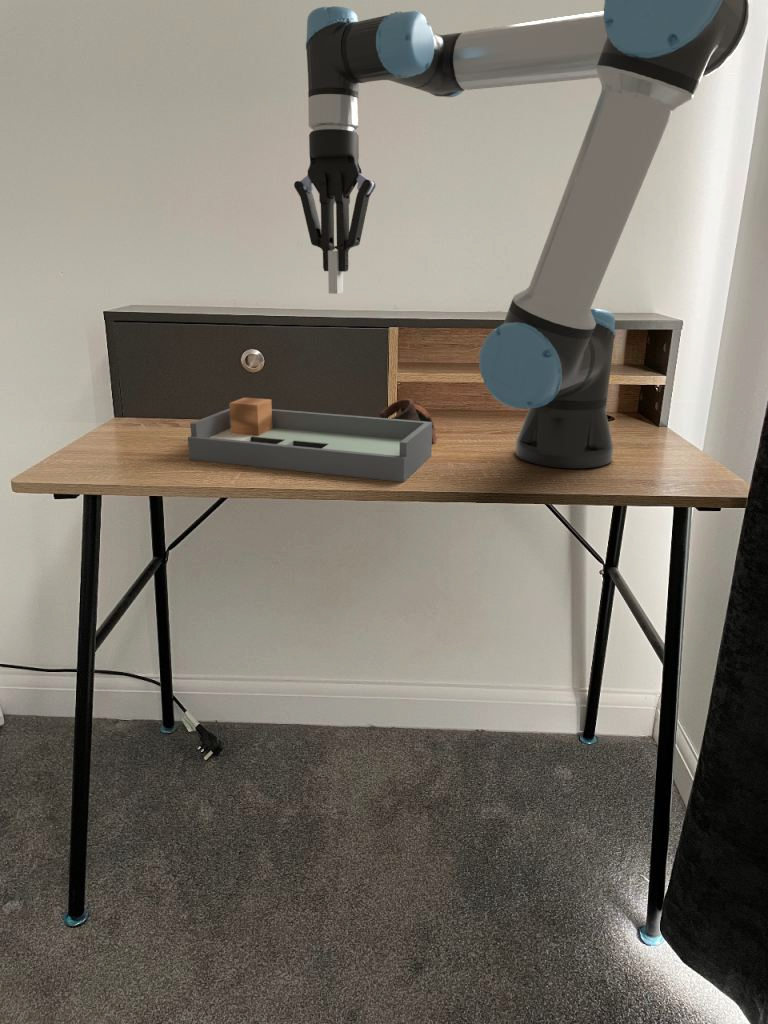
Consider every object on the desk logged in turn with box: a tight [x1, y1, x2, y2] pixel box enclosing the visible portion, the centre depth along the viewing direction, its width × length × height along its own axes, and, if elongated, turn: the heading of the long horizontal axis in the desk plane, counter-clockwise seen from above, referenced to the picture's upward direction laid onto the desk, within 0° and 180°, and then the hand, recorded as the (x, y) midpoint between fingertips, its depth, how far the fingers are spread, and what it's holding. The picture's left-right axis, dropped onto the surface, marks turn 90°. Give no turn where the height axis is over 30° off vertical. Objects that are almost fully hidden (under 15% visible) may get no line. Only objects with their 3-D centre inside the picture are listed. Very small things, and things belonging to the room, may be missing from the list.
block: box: [228, 397, 273, 436], centre depth 122 cm, size 5×5×5 cm
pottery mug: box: [377, 398, 438, 445], centre depth 128 cm, size 12×10×8 cm
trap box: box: [187, 407, 433, 483], centre depth 116 cm, size 35×15×6 cm, turn 71°
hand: (336, 292), depth 120 cm, fingers closed
